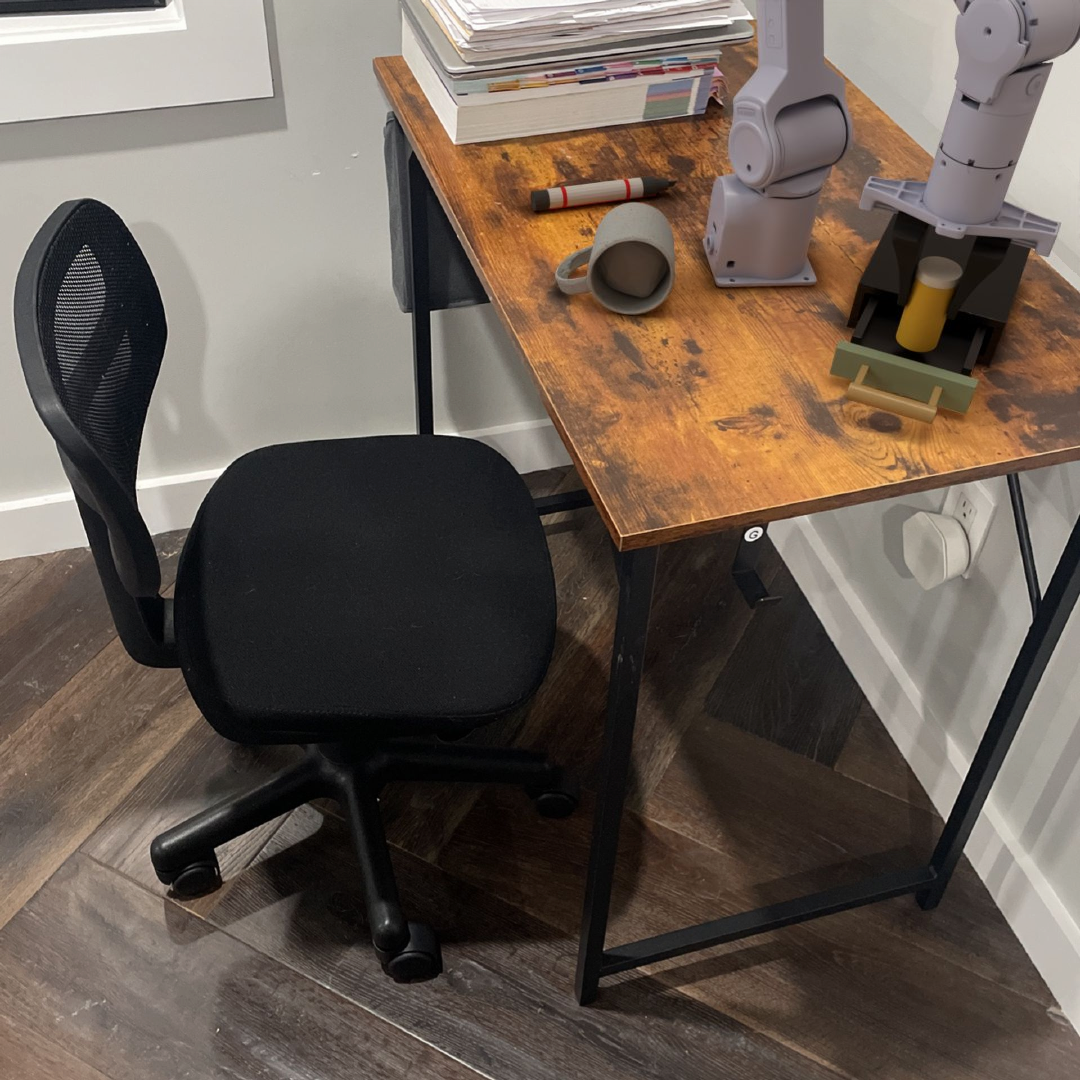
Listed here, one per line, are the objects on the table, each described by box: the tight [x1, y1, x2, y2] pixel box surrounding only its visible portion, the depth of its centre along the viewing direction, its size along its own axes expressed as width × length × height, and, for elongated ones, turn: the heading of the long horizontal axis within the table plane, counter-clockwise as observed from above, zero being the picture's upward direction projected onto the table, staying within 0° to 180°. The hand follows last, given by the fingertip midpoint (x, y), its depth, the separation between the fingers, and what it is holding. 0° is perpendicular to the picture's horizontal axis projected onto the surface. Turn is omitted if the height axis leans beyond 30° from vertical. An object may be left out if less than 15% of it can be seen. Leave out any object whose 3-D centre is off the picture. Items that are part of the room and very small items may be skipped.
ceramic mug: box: [554, 201, 676, 316], centre depth 102 cm, size 11×8×8 cm
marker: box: [529, 175, 678, 212], centre depth 115 cm, size 15×2×2 cm, turn 107°
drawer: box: [829, 295, 988, 425], centre depth 95 cm, size 17×11×3 cm
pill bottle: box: [896, 256, 963, 352], centre depth 93 cm, size 4×4×7 cm
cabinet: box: [846, 213, 1032, 367], centre depth 103 cm, size 14×13×5 cm
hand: (927, 306), depth 93 cm, fingers closed on pill bottle, 3 cm apart
